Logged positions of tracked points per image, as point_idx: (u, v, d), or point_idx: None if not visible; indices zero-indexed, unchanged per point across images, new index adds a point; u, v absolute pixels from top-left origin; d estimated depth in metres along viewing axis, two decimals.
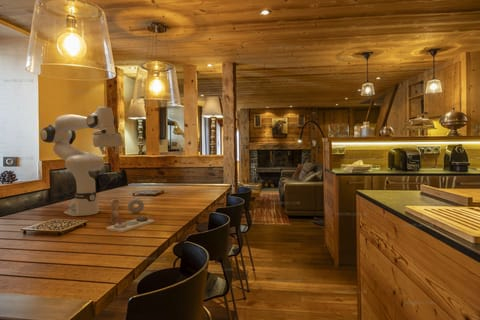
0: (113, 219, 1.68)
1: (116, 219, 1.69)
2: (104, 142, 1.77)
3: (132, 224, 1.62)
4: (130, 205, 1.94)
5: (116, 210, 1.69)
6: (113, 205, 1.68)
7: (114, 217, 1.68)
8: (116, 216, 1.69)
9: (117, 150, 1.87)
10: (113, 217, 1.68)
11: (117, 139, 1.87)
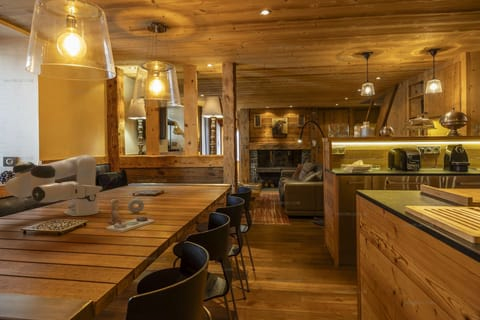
0: (113, 219, 1.68)
1: (116, 219, 1.69)
2: None
3: (132, 224, 1.62)
4: (130, 205, 1.94)
5: (116, 210, 1.69)
6: (113, 205, 1.68)
7: (114, 217, 1.68)
8: (116, 216, 1.69)
9: None
10: (113, 217, 1.68)
11: None
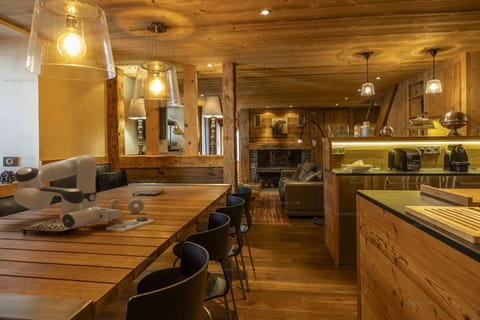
0: (113, 219, 1.68)
1: (116, 219, 1.69)
2: (112, 210, 1.62)
3: (132, 224, 1.62)
4: (130, 205, 1.94)
5: None
6: (113, 205, 1.68)
7: None
8: None
9: None
10: None
11: None
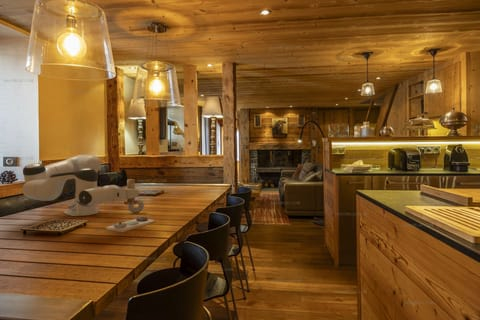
0: (129, 199, 1.62)
1: (132, 199, 1.63)
2: None
3: (132, 224, 1.62)
4: (130, 205, 1.94)
5: None
6: (129, 185, 1.62)
7: None
8: None
9: None
10: None
11: None
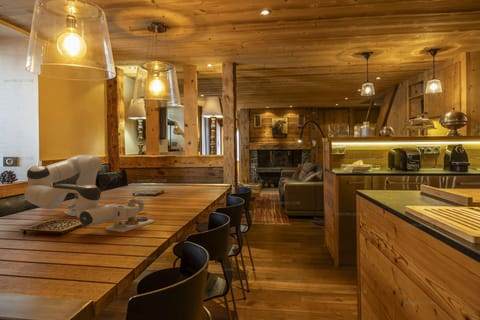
0: (130, 219, 1.62)
1: (133, 219, 1.63)
2: (129, 207, 1.56)
3: (132, 224, 1.62)
4: None
5: None
6: (130, 205, 1.62)
7: (131, 217, 1.62)
8: (133, 216, 1.63)
9: None
10: (130, 217, 1.62)
11: None
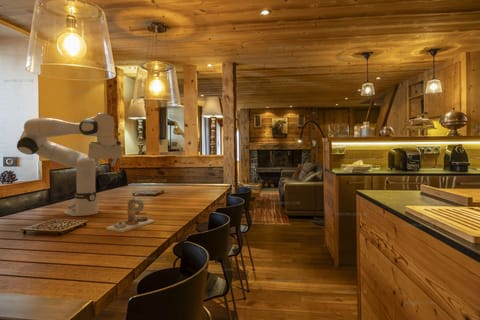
0: (130, 219, 1.62)
1: (133, 219, 1.63)
2: None
3: (132, 224, 1.62)
4: None
5: (133, 210, 1.63)
6: (130, 205, 1.62)
7: (131, 217, 1.62)
8: (133, 216, 1.63)
9: None
10: (130, 217, 1.62)
11: None
